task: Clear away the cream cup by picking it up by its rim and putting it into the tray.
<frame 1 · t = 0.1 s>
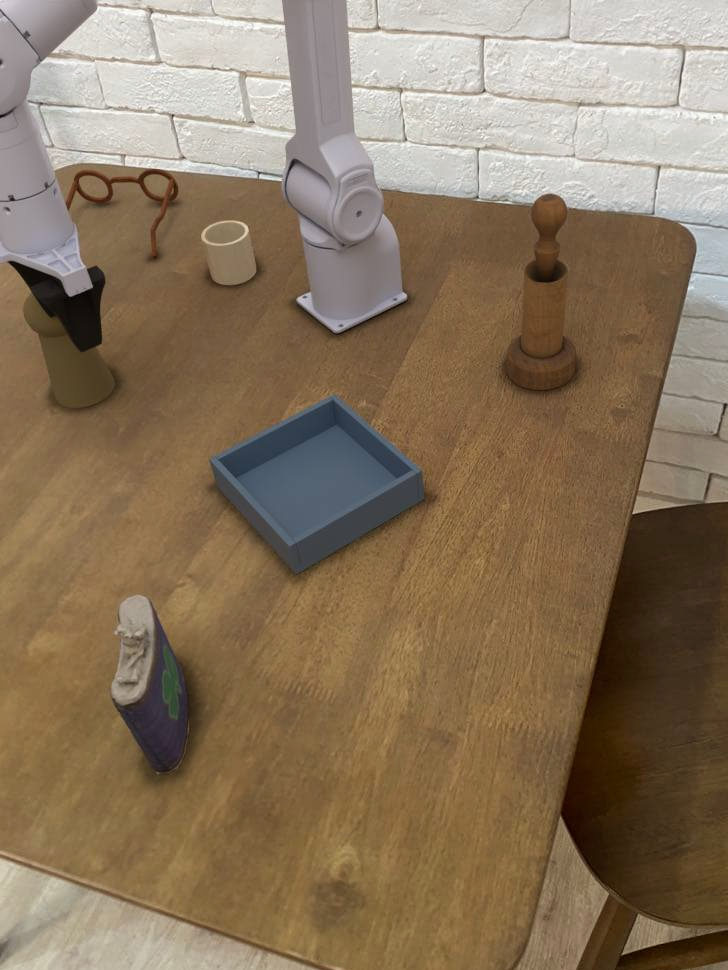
hand: (74, 329, 83), 10 cm above the table, tool pointing down, fingers open, 6 cm apart
pepper mill: (85, 390, 94), on the table, touching gripper
mortar and pestle: (540, 371, 92), on the table
flask: (169, 718, 68), on the table
cream cup: (233, 272, 107), on the table
tray: (319, 493, 82), on the table
glasses: (119, 232, 115), on the table
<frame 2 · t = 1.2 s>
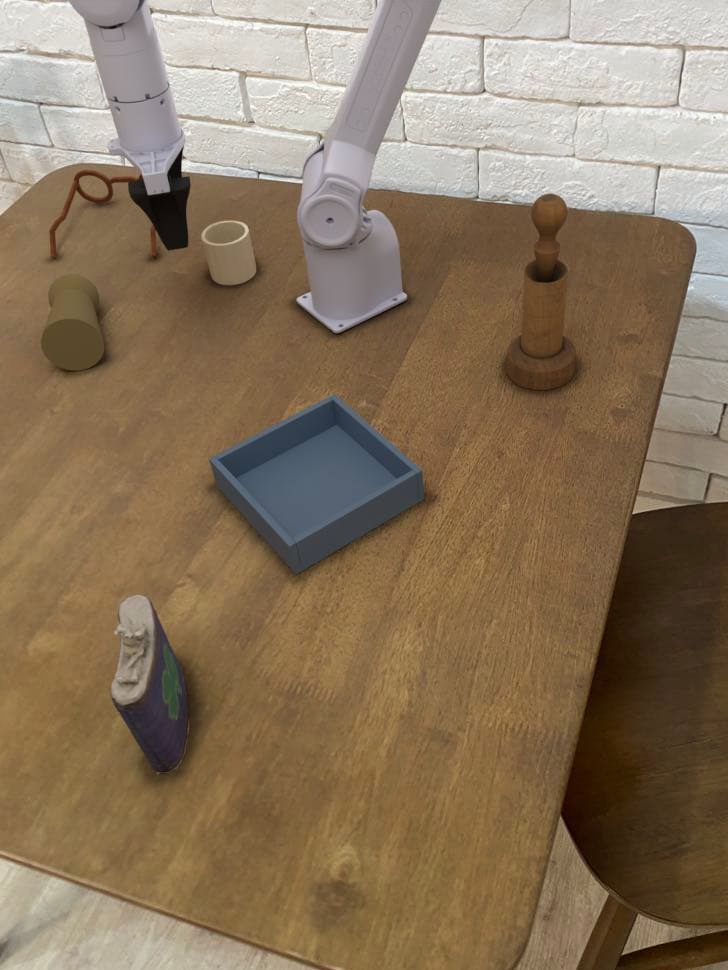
hand: (175, 227, 94), 10 cm above the table, tool pointing down, fingers open, 7 cm apart
pepper mill: (72, 346, 94), point 3 cm above the table
everything else where it was.
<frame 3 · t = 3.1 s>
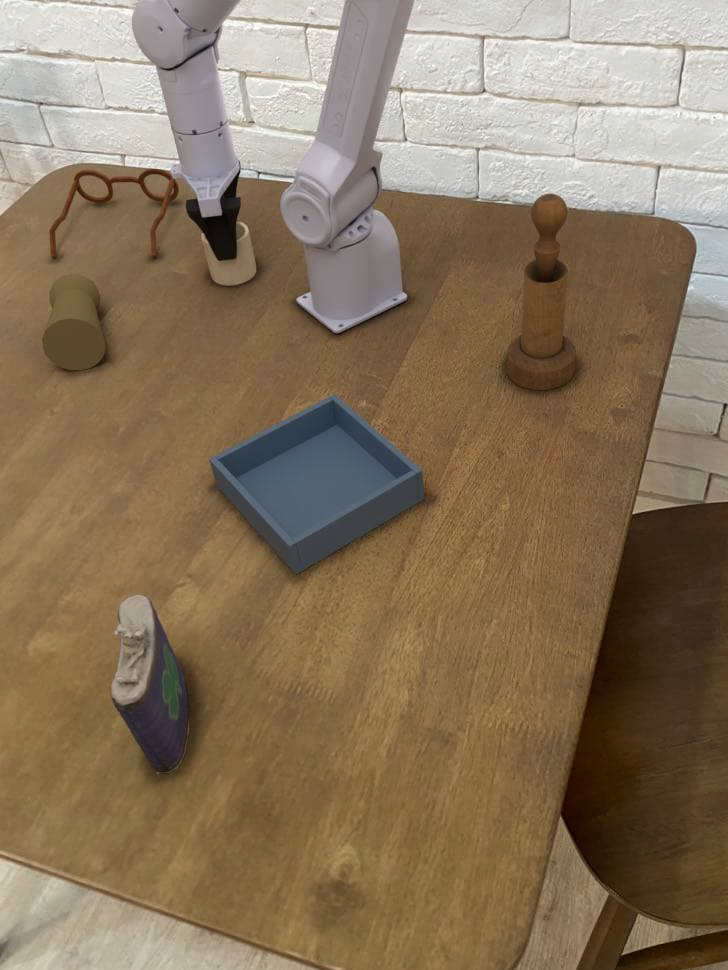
hand: (227, 244, 104), 4 cm above the table, tool pointing down, fingers closed on cream cup, 5 cm apart
cream cup: (233, 272, 107), on the table, touching gripper
everything else where it was.
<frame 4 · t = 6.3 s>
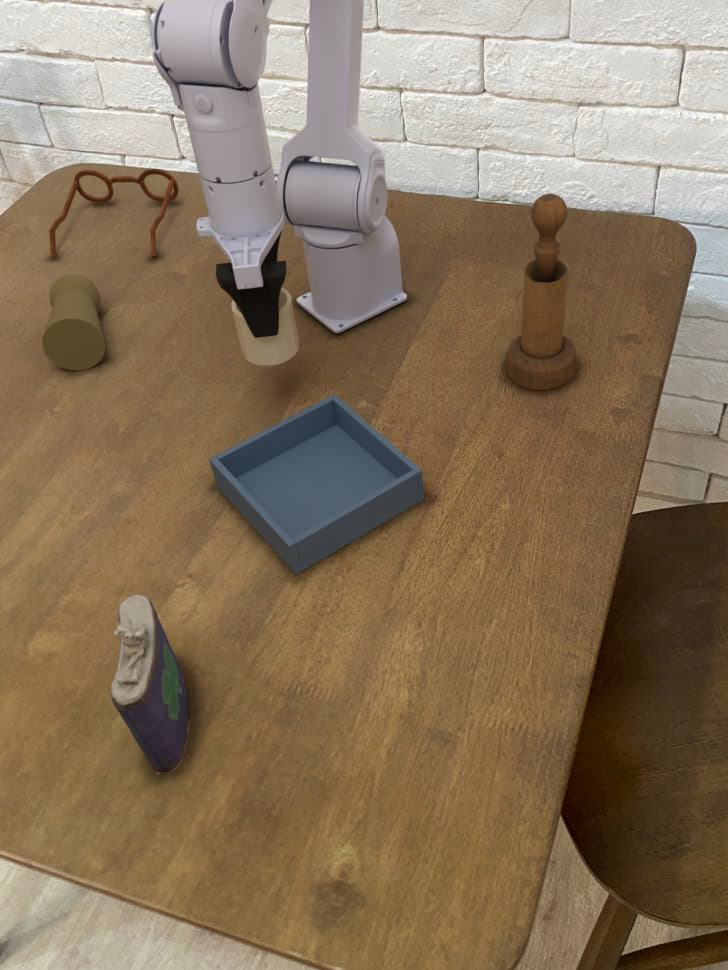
hand: (265, 314, 83), 10 cm above the table, tool pointing down, fingers closed on cream cup, 5 cm apart
cream cup: (270, 348, 85), point 7 cm above the table, touching gripper
everything else where it was.
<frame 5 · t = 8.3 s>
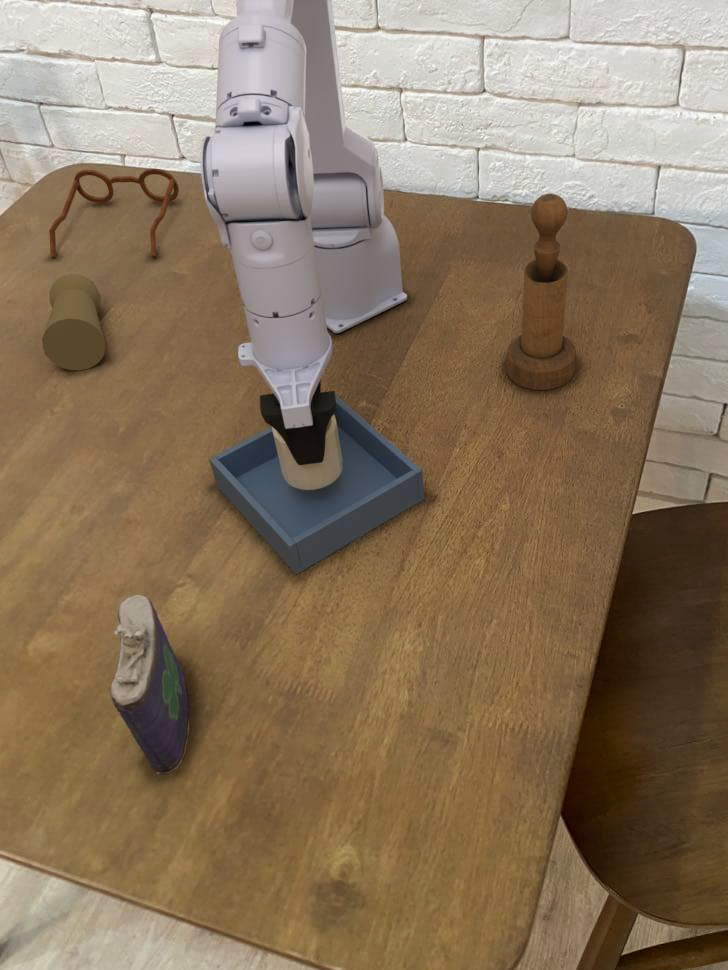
hand: (308, 436, 77), 7 cm above the table, tool pointing down, fingers closed on cream cup, 5 cm apart
cream cup: (312, 468, 80), point 3 cm above the table, touching gripper
everything else where it was.
when the fingers open (4 cm above the table, at t = 9.7 s): cream cup stays where it is, resting on tray.
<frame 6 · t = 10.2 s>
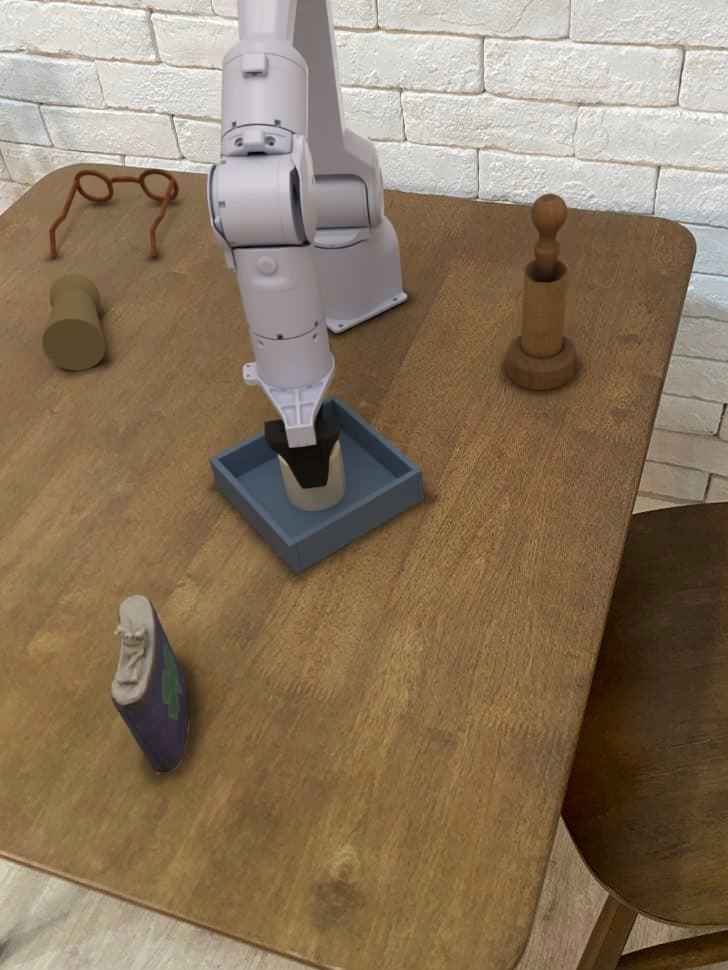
hand: (311, 452, 79), 5 cm above the table, tool pointing down, fingers open, 7 cm apart
cream cup: (316, 489, 82), resting on tray
everything else where it was.
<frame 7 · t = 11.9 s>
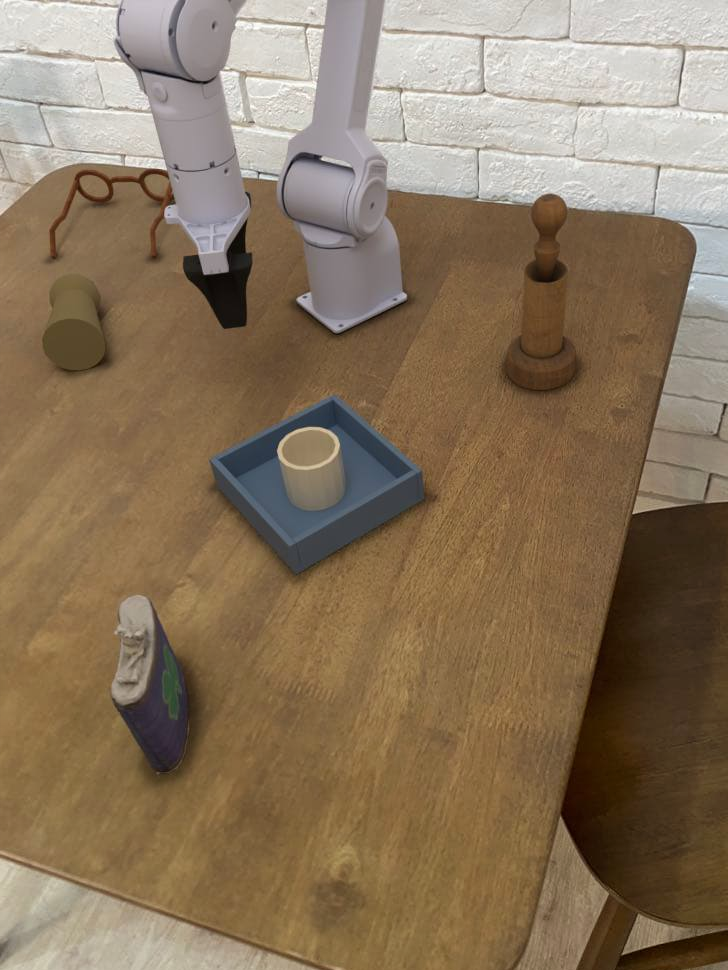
hand: (234, 300, 84), 10 cm above the table, tool pointing down, fingers open, 7 cm apart
nothing on the table moved.
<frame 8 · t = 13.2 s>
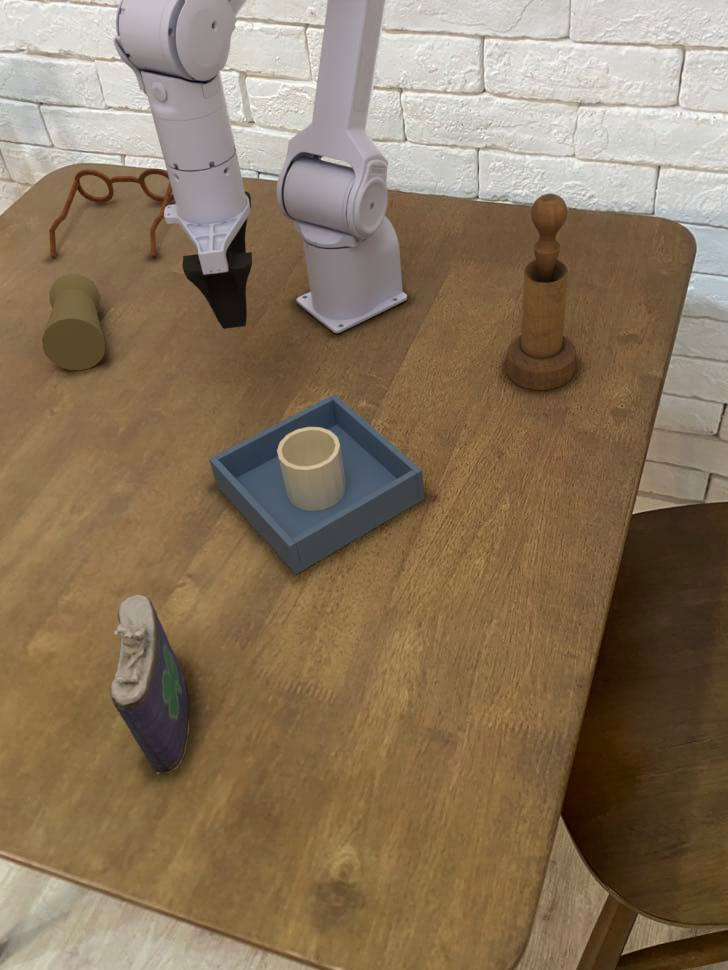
hand: (234, 300, 85), 10 cm above the table, tool pointing down, fingers open, 7 cm apart
nothing on the table moved.
at the end: cream cup inside the target area in the tray (0.2 cm from its centre), point 0.5 cm above the tray's base; cream cup tilted 0°; the gripper is holding nothing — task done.
